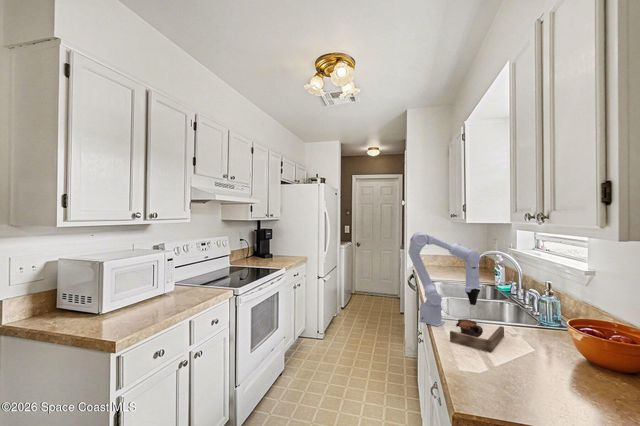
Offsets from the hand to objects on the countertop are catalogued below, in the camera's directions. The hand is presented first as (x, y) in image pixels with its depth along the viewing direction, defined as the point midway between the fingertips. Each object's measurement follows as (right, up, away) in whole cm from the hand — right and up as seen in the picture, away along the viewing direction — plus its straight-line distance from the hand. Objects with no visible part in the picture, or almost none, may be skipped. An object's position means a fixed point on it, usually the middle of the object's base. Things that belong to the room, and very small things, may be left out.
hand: (472, 304), depth 140 cm
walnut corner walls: (-7, -9, -17) cm, 20 cm away
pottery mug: (-9, -10, -15) cm, 20 cm away
